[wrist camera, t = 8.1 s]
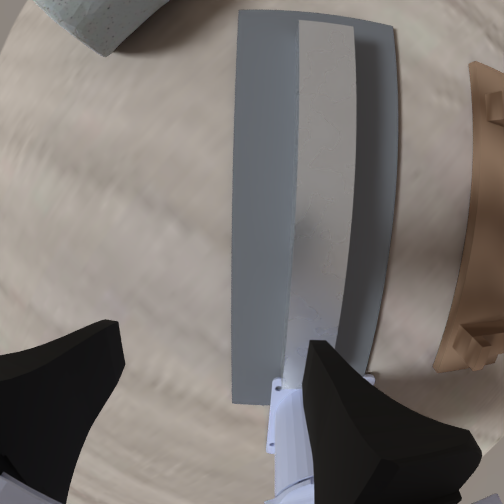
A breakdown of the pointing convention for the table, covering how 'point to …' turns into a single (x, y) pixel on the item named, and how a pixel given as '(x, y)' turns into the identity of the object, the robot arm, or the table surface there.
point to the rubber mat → (281, 186)
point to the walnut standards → (480, 239)
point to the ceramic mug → (100, 19)
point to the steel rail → (319, 190)
